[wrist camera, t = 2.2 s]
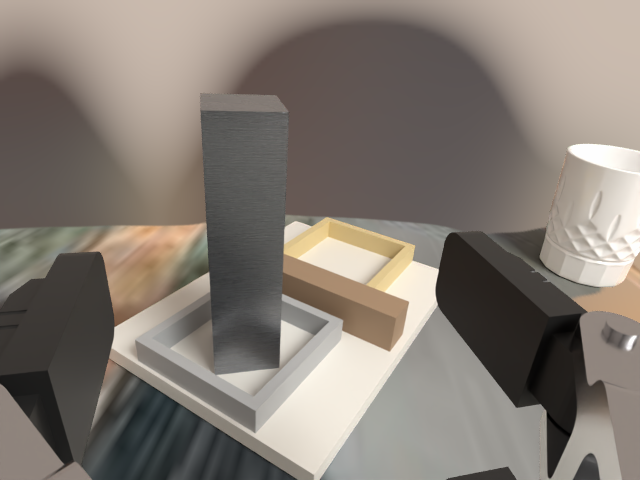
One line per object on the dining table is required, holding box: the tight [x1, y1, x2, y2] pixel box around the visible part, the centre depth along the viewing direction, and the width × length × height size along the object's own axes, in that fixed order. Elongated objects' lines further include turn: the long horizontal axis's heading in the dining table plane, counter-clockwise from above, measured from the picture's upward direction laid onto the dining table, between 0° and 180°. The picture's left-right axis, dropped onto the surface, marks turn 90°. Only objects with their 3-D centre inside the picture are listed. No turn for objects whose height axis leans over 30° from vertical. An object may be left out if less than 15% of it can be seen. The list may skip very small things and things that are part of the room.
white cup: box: [540, 144, 640, 287], centre depth 37 cm, size 8×8×10 cm
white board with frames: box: [109, 217, 439, 480], centre depth 30 cm, size 20×15×4 cm
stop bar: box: [200, 93, 289, 375], centre depth 23 cm, size 4×4×14 cm
